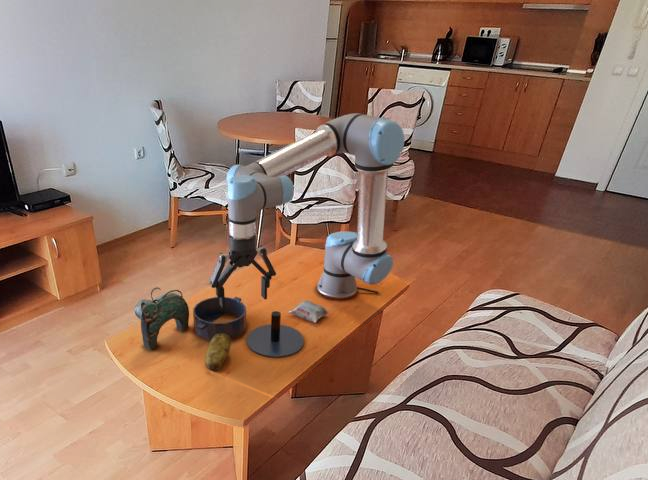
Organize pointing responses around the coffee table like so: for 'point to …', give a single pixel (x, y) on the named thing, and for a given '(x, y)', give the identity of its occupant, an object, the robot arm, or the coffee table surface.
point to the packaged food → (309, 311)
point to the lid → (275, 339)
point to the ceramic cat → (161, 315)
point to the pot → (212, 311)
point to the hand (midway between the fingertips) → (243, 301)
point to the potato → (217, 351)
